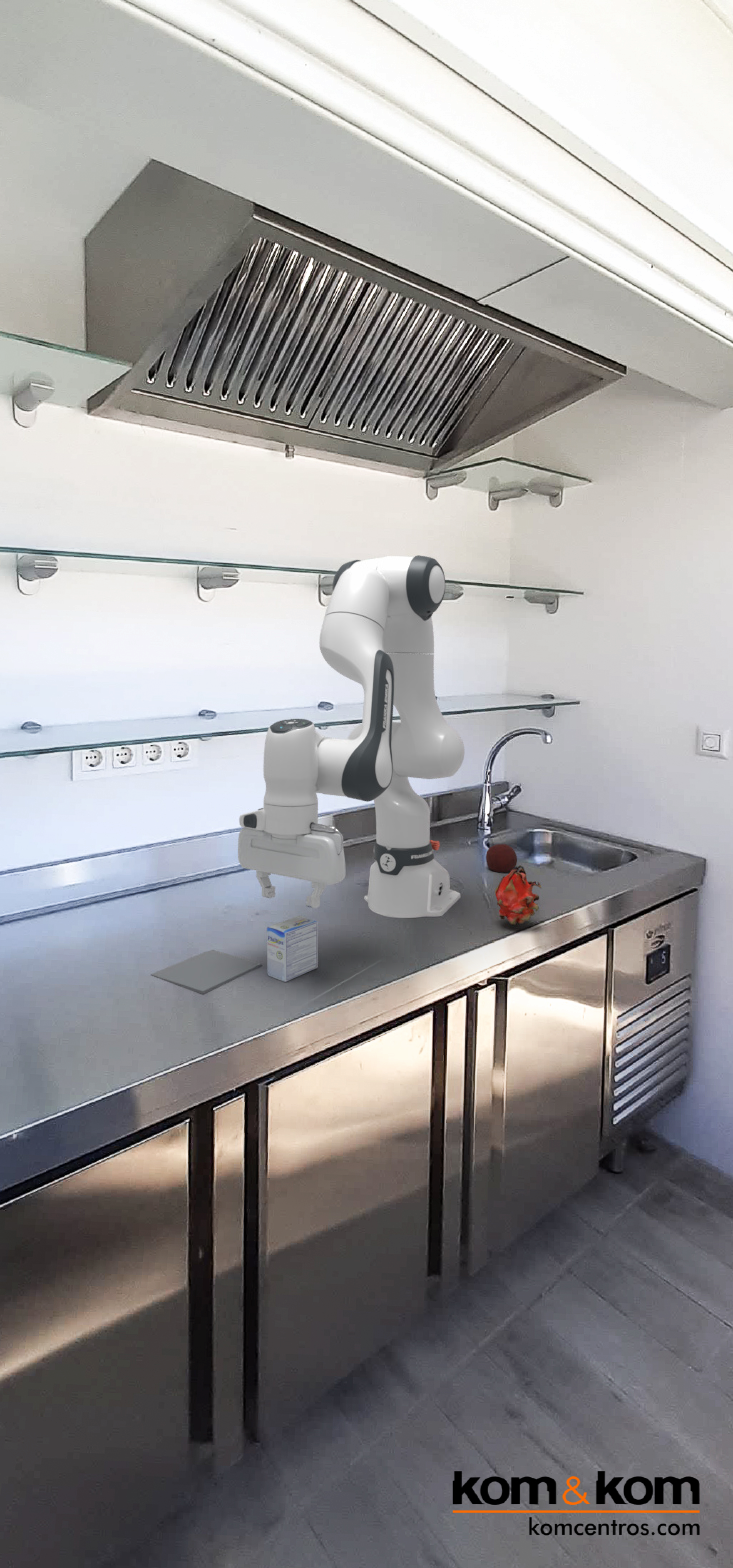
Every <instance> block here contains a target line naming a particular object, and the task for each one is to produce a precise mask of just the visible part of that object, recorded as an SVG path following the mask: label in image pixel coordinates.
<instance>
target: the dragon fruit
mask: <svg viewBox="0 0 733 1568" xmlns="http://www.w3.org/2000/svg"><path fill="white" fill-rule="evenodd" d="M518 870H519V871H518ZM534 886H536V887H538V888H539V889H542V885H541V882H539V881H532V880H531V881H528V880H527V873H526V870H525V867H524V866H522V865H518V867H516V866H515V867H514V868H513V869H512V870H511V871H509V872H508V874H506V875H503V876H502V878H501V879H500V881H499V884H497V887H496V888H495V890H494V893H495V897H496V900H497V903H496V905H497V906H499V910H498V914H499V917H500V920H502V921H503V920H505V917H506V920H507V921H508V922H509V924H510V925H515V926H518V924H524V923H525V921H526V922H529V921H530V920H531V917H532V916H535V914H536V913H535V912H537V911H539V909H540V907H539V905H538V903H535V901H539V900H540V896H539V895H538V894H537V893H533V888H534Z"/></svg>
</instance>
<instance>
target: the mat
mask: <svg viewBox="0 0 733 1568" xmlns="http://www.w3.org/2000/svg"><path fill="white" fill-rule="evenodd" d="M262 966H263V963H261V962H257V961H253V960H250V959H247V958H243V957H241V956H237V955H232V954H229V953H225V952H222V951H218V950H215V949H211V950H207V951H204V952H202V953H201V952H200V953H198V954H197V955H195V956H191V957H190V958H187V959H183V960H182V961H180V962H177V963H175V964H173V965H170V966H168V967H165V968H163V969H160V970H159V971H158V970H157V971H156V972H153V973H150V976H152V977H154V978H157V979H160V980H163V981H165V982H168V983H170V984H174V985H177V986H178V987H182V988H184V989H187V990H190V991H192V992H195V993H199V994H201V995H205V994H207V993H209V992H211V991H213V990H216V989H217V988H219V987H222V986H224V985H226V984H228V983H231V982H232V981H234V980H236V979H239V978H240V977H243V976H245V975H246V974H248V973H250V972H252V971H254V970H256V969H259V968H261V967H262Z"/></svg>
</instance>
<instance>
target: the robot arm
mask: <svg viewBox="0 0 733 1568" xmlns="http://www.w3.org/2000/svg"><path fill="white" fill-rule="evenodd" d="M445 577H446V575H445V572H444V569H443V567H442V565H440V563H439V561H438V560H437V559H435V558H434V557H431V556H426V555H425V556H424V555H415V556H409V555H408V556H407V555H385V556H384V557H374V558H369V559H364V560H363V559H362V560H360V559H355V560H351V561H348V562H346V563H343V564H341V565H340V567H339V568H338V570H337V571H336V572H335V574H334V577H333V579H332V593H331V596H330V597H329V598H330V599H329V600H328V603H327V606H326V609H325V614H324V617H323V622H322V625H321V629H320V634H319V650H320V653H321V655H322V658H323V659H324V661H325V662H326V664H327V665H328V666H330V668H332V669H333V671H336V672H337V673H339V674H340V675H342V676H344V677H346V678H347V679H349V680H352V681H354V682H356V683H358V684H359V685H361V686H362V688H363V706H362V723H361V724H360V723H359V724H358V725H356V726H354V728H353V729H351V731H350V733H349V735H348V737H347V738H332V737H328V736H327V737H326V736H325V735H323V734H321V733H319V732H318V731H316V727H315V724H314V722H313V721H311V720H309V719H305V718H290V719H282V720H279V721H276V722H274V723H272V724H271V725H270V726H269V727H268V728H267V732H266V736H265V741H264V750H263V765H262V766H263V768H262V769H263V778H264V783H265V793H264V796H263V807H261V808H258V809H257V810H253V811H250V812H246V813H242V814H240V816H239V819H238V821H239V826H240V827H241V829H240V830H239V833H238V839H237V840H238V841H237V858H238V863H239V865H240V866H241V867H242V868H243V869H246V870H252V871H256V872H255V873H256V875H255V876H256V878H257V880H258V883H259V885H260V887H261V896H262V897H263V898H266V899H273V898H274V897H275V896H276V886H275V885H272V883H271V880H270V877H269V876H272V875H277V876H282V877H286V878H287V877H288V878H293V879H298V880H302V881H307V882H311V888H312V889H313V891H312V893H311V894H310V895H307V896H306V897H305V898H306V899H305V902H306V904H305V905H306V907H307V908H312V909H317V908H319V907H320V905H321V897H322V894H323V893H324V891H325V889H326V887H327V886H333V885H336V884H339V883H342V881H343V880H344V879H345V877H346V859H345V852H344V851H345V850H344V836H343V834H342V832H341V831H339V830H338V829H337V827H336V826H334V825H326V824H321V823H319V820H318V819H319V798H318V794H322V795H330V796H337V797H346V798H349V799H354V800H359V801H361V802H363V801H364V802H367V803H368V802H372V801H373V802H374V811H375V828H376V830H375V831H376V832H375V833H376V837H375V838H376V839H375V840H376V841H375V842H374V843H373V845H374V846H373V859H374V860H375V861H374V863H372V864H371V866H370V870H369V879H368V892H367V895H364V897H363V899H364V900H365V902H367V903H368V904H367V905H368V908H369V910H371V911H372V912H373V913H375V914H377V915H381V916H384V917H388V918H395V919H396V918H398V919H413V918H422V917H423V918H424V917H426V918H427V917H430V918H432V917H434V918H435V917H442V916H444V914H445V913H447V912H448V911H449V910H450V909H451V908H452V907H453V906H454V905H455V903H457V901H458V900H459V899H461V893H460V892H459V891H456V890H454V889H450V887H451V886H450V885H451V884H450V883H451V882H450V879H451V878H450V873H449V871H448V870H447V869H445V868H444V866H442V865H441V864H440V863H439V862H438V861H437V860H436V859H435V854H434V851H439V849H440V846H441V845H440V841H439V840H432V839H430V835H431V833H430V830H431V829H430V828H431V809H430V806H429V804H428V802H427V801H426V800H425V798H423V797H422V796H421V795H419V794H418V793H416V791H415V789H413V788H412V786H411V784H410V782H409V781H410V780H409V778H415V779H424V780H425V779H426V780H434V779H445V778H450V777H452V776H454V775H455V774H456V773H457V772H458V771H459V770H460V768H461V767H462V764H463V763H464V759H465V745H464V742H463V739H462V737H461V735H460V734H459V732H458V731H457V730H456V729H454V728H453V727H452V726H451V725H450V724H449V722H448V721H447V720H446V719H445V717H444V715H443V713H442V711H441V709H440V707H439V704H438V702H437V697H436V693H435V691H436V690H435V680H434V679H435V676H434V675H435V673H434V672H435V671H434V670H435V666H434V664H435V663H434V662H435V661H434V660H435V659H434V658H435V639H434V638H435V637H434V625H433V619H432V616H433V614H434V613H435V612H437V610H438V609H439V608H440V606H441V604H442V602H443V600H444V598H445V593H446V578H445ZM394 707H395V709H396V710H397V712H398V715H399V721H400V722H399V721H398V722H397V721H393V720H394V719H393V718H394ZM271 874H272V875H271Z"/></svg>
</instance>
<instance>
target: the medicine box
mask: <svg viewBox="0 0 733 1568" xmlns="http://www.w3.org/2000/svg"><path fill="white" fill-rule="evenodd" d="M318 924H319V922H318V921H317V920H316V919H312V918H310V917H306V916H302V915H297V916H294V917H292V918H288V919H286V920H285V919H284V920H283V921H280V922H277V923H275V924H272V925H269V926H267V927H266V940H267V941H266V946H267V949H266V951H267V954H266V957H267V960H266V961H267V964H266V965H267V966H266V967H267V975H268V977H270V978H273V979H276V980H278V981H281V982H284V983H287V982H288V981H289V982H290V981H291V980H293V979H295V978H297V977H301V976H302V975H305V974H307V973H308V972H311V971H313V970H316V969H318V967H319V966H318V965H319V963H318V962H319V957H318V954H319V953H318V951H319V949H318V948H319V947H318V946H319V945H318V944H319V943H318V941H319V940H318V939H319V937H318V936H319V925H318Z"/></svg>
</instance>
